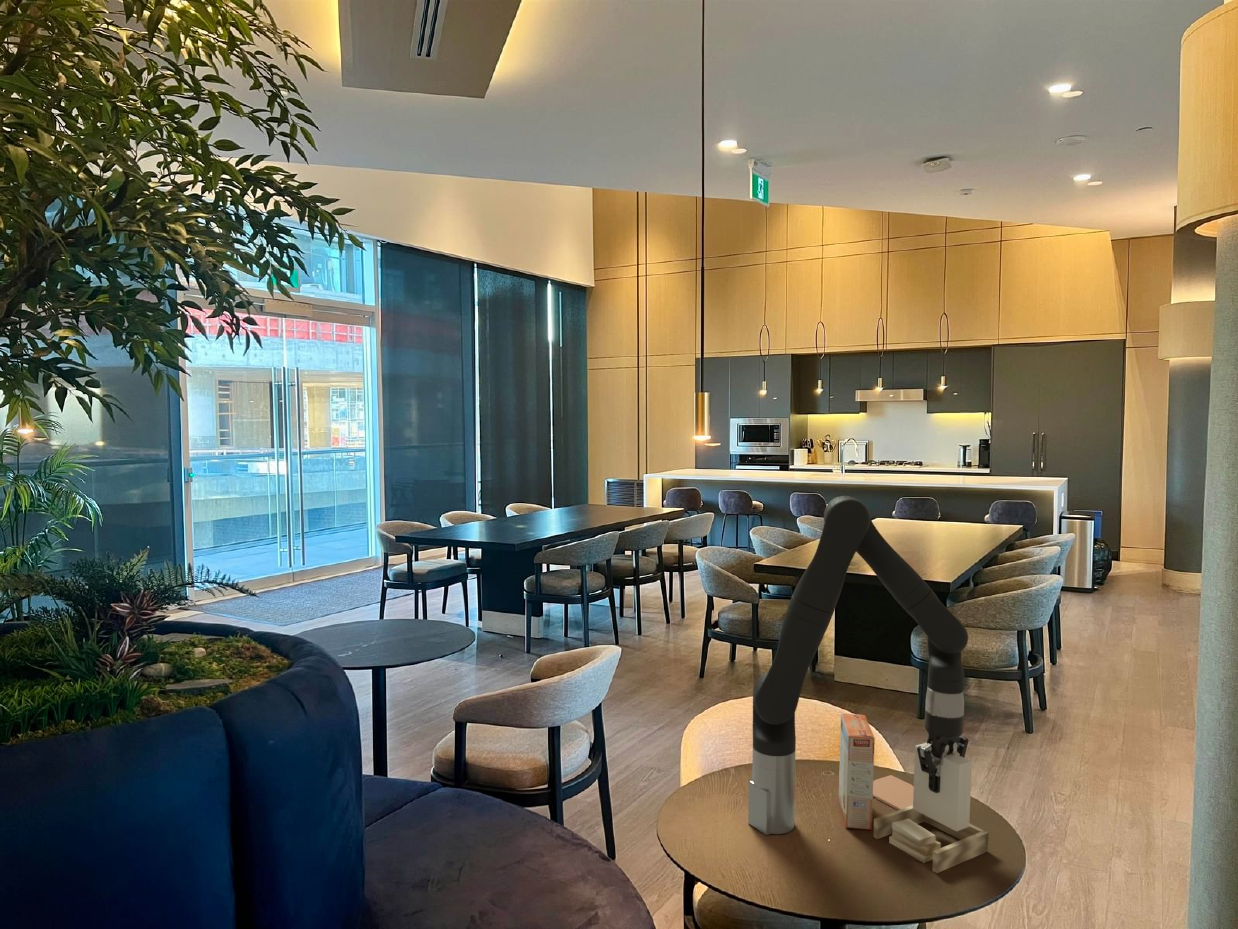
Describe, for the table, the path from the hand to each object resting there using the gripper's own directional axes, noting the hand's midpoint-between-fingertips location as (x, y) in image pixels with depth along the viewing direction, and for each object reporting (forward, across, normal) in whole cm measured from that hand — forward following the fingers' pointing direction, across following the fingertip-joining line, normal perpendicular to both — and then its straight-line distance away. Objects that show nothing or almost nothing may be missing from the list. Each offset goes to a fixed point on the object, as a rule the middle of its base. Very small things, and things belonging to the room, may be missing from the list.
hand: (941, 788), depth 172 cm
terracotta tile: (+11, -9, -18) cm, 23 cm away
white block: (+6, 0, 0) cm, 6 cm away
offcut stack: (+12, +8, 0) cm, 14 cm away
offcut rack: (+11, +3, 0) cm, 12 cm away
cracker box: (+12, +7, -17) cm, 22 cm away
